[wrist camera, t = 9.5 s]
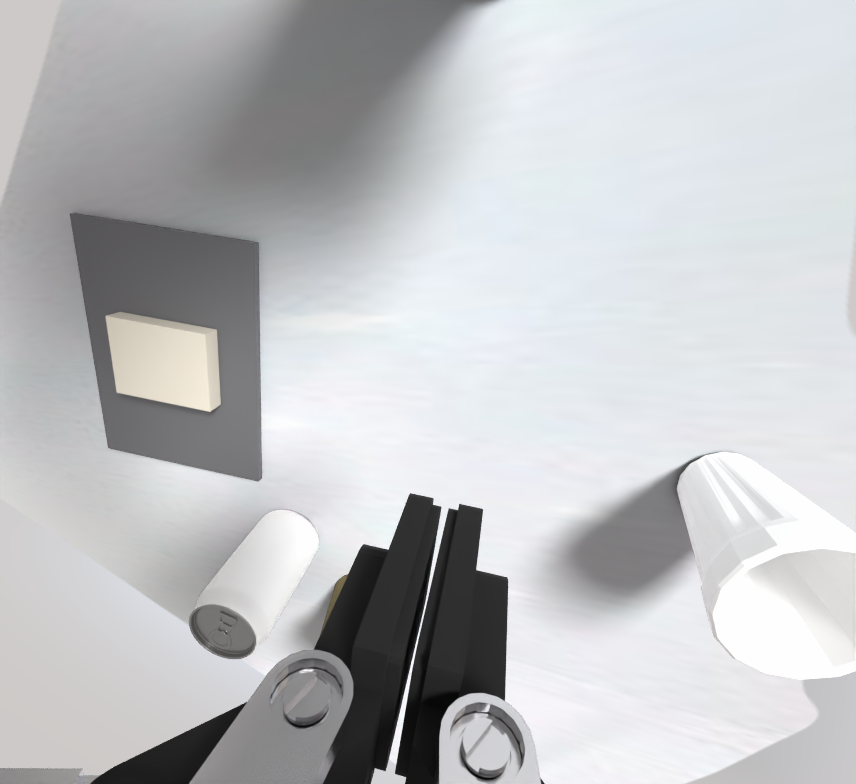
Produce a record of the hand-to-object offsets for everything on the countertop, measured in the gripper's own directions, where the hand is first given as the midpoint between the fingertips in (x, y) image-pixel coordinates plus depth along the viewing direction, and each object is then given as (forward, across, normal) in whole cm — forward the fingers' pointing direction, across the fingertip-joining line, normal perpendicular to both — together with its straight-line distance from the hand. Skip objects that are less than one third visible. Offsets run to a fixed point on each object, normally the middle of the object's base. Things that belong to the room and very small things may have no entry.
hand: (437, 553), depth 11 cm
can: (+27, +16, +26) cm, 41 cm away
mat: (+27, +27, +9) cm, 39 cm away
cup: (+27, -20, +11) cm, 36 cm away
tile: (+26, +22, +9) cm, 35 cm away
